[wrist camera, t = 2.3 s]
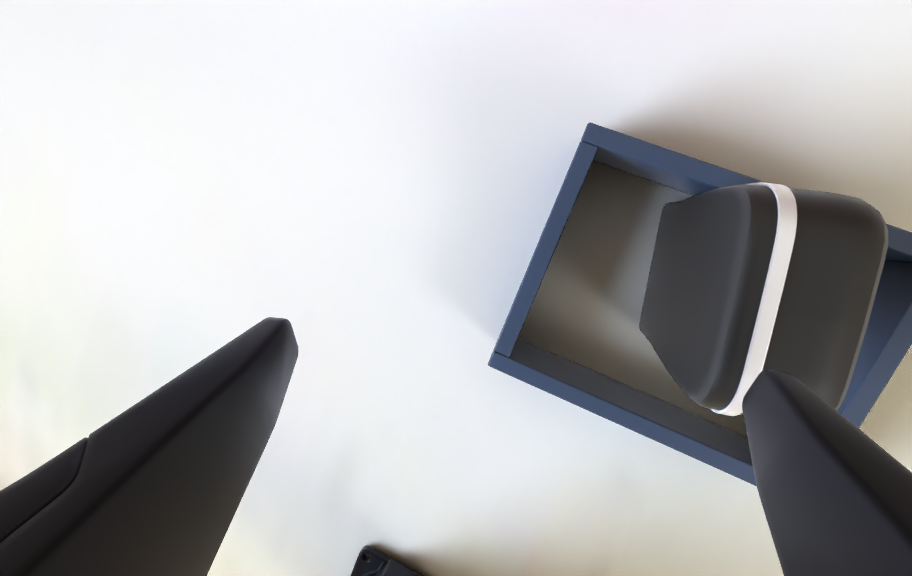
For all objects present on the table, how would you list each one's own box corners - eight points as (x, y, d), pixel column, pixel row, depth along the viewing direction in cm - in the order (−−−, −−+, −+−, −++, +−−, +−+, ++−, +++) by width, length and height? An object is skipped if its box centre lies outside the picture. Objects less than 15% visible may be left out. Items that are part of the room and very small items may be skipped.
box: (766, 461, 23) (808, 510, 19) (498, 344, 25) (487, 365, 21) (893, 247, 20) (970, 252, 16) (584, 139, 23) (588, 121, 19)
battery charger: (715, 347, 23) (862, 464, 12) (635, 334, 23) (701, 430, 12) (747, 207, 21) (945, 186, 10) (662, 197, 22) (762, 169, 11)
